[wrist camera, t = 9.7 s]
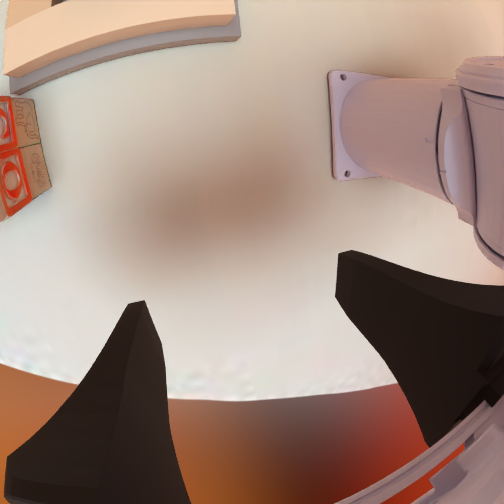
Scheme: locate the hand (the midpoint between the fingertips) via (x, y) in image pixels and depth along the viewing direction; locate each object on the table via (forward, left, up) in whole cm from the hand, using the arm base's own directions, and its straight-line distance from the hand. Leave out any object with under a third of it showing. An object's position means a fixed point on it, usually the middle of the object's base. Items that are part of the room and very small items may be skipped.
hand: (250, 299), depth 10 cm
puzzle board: (+4, -18, -9) cm, 21 cm away
